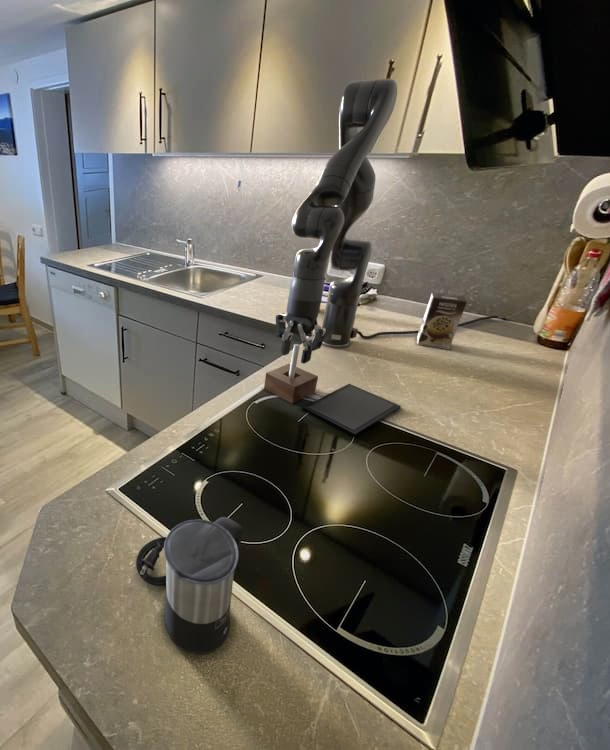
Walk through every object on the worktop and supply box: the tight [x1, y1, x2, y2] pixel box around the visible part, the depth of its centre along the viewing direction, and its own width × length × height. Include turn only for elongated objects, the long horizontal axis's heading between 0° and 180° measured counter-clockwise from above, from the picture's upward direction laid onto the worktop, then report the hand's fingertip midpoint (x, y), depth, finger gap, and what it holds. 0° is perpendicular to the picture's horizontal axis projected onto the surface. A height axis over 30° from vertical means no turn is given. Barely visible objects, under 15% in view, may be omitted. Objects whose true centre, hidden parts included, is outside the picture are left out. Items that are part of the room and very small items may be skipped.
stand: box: [263, 363, 319, 405], centre depth 111 cm, size 9×9×5 cm
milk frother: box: [135, 516, 244, 655], centre depth 57 cm, size 14×16×15 cm
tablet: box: [301, 383, 402, 438], centre depth 103 cm, size 20×14×1 cm
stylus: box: [289, 343, 301, 379], centre depth 109 cm, size 1×1×14 cm
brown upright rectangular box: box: [416, 292, 468, 350], centre depth 134 cm, size 9×6×16 cm
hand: (294, 358), depth 107 cm, fingers open, 5 cm apart
